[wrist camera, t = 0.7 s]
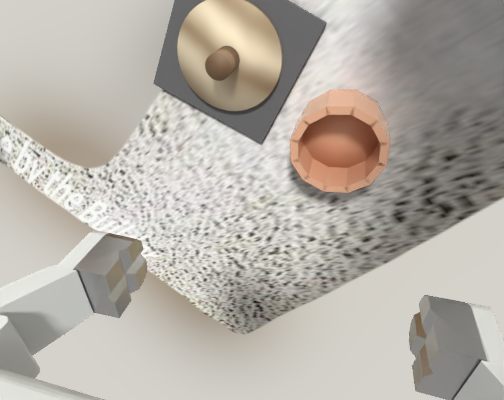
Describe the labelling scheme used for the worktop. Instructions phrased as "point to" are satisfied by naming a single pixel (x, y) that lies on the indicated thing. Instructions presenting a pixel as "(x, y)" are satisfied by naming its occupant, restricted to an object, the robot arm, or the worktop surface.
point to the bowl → (340, 141)
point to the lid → (230, 53)
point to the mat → (294, 57)
